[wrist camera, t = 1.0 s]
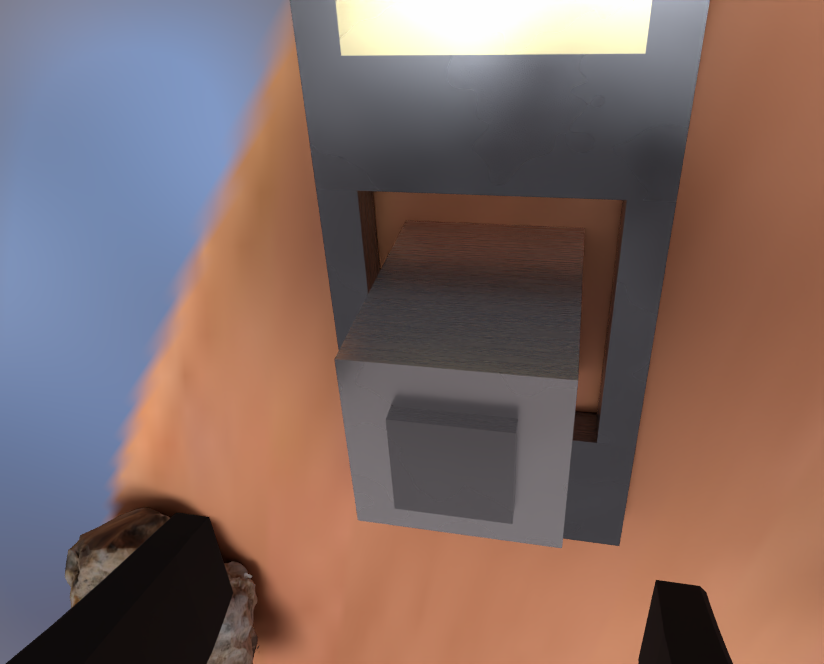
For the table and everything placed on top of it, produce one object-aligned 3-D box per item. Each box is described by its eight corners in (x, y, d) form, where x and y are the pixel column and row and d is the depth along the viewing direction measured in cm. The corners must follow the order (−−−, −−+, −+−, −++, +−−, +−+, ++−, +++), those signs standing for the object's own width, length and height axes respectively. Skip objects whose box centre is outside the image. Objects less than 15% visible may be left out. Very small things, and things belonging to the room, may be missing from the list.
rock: (-5, 554, 29) (41, 815, 27) (-17, 546, 23) (41, 883, 21) (209, 495, 33) (261, 715, 31) (247, 475, 27) (314, 748, 25)
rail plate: (792, -585, 10) (816, -638, 9) (618, 515, 22) (619, 548, 21) (250, -487, 11) (214, -520, 10) (371, 484, 24) (360, 513, 23)
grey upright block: (584, 228, 17) (577, 394, 12) (571, 373, 19) (561, 564, 14) (406, 220, 18) (327, 372, 13) (415, 359, 20) (352, 534, 15)
